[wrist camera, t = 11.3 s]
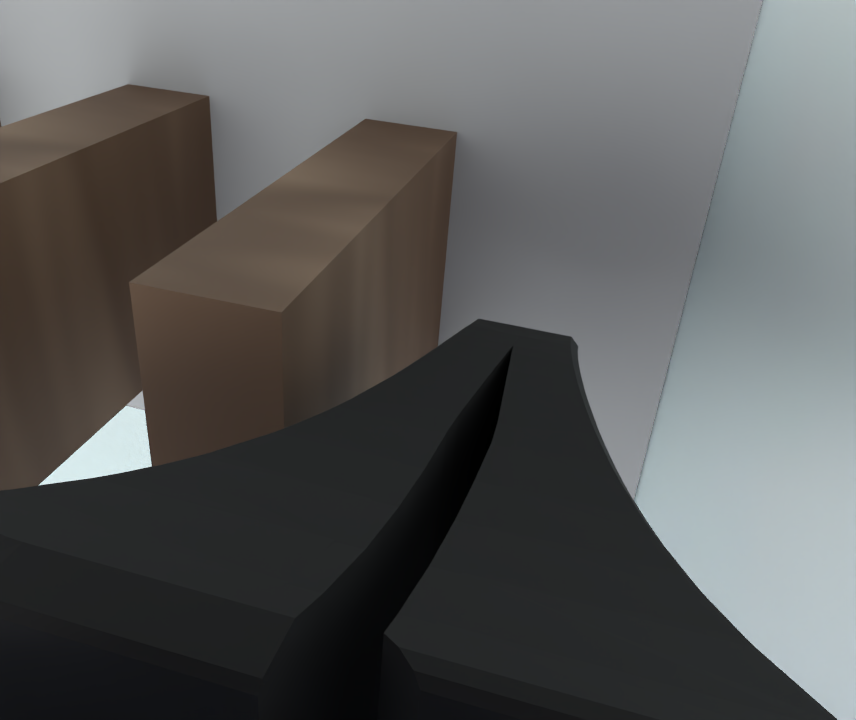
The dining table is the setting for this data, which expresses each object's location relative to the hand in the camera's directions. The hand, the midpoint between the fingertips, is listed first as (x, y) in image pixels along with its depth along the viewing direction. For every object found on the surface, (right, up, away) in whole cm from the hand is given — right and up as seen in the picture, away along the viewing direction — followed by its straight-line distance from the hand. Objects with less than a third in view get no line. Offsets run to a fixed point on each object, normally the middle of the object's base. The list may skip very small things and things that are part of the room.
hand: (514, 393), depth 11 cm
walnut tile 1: (-2, +2, +4) cm, 5 cm away
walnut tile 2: (-6, +3, +5) cm, 8 cm away
